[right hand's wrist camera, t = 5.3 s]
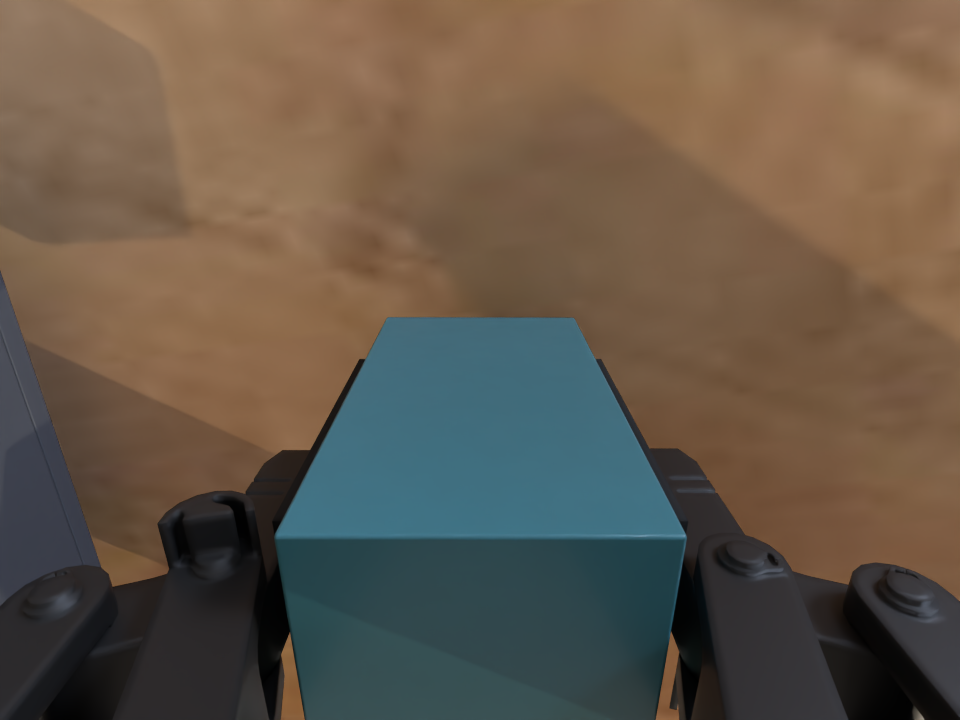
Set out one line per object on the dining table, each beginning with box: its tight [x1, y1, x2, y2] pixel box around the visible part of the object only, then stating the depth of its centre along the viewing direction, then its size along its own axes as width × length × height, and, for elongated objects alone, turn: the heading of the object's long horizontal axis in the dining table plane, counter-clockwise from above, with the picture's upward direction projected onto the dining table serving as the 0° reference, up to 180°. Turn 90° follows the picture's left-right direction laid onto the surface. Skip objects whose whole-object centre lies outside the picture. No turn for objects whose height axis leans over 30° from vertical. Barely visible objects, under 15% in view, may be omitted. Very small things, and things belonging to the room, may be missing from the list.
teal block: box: [274, 317, 687, 720], centre depth 11 cm, size 5×5×8 cm
